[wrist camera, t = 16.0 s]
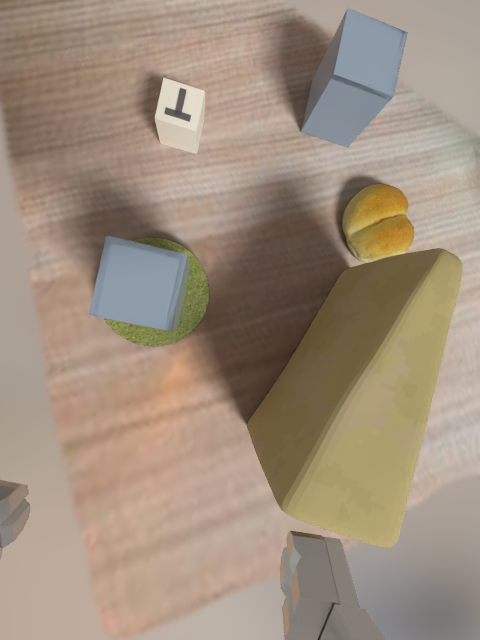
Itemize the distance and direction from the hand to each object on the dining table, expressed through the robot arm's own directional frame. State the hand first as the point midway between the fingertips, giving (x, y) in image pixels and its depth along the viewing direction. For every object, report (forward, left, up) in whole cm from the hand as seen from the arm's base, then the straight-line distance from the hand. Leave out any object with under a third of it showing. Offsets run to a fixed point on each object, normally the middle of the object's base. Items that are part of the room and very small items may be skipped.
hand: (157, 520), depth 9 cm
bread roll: (-18, -21, -24) cm, 37 cm away
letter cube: (+6, -26, -23) cm, 35 cm away
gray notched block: (-10, -33, -23) cm, 41 cm away
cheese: (-14, -4, -23) cm, 28 cm away
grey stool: (+5, -8, -21) cm, 23 cm away
